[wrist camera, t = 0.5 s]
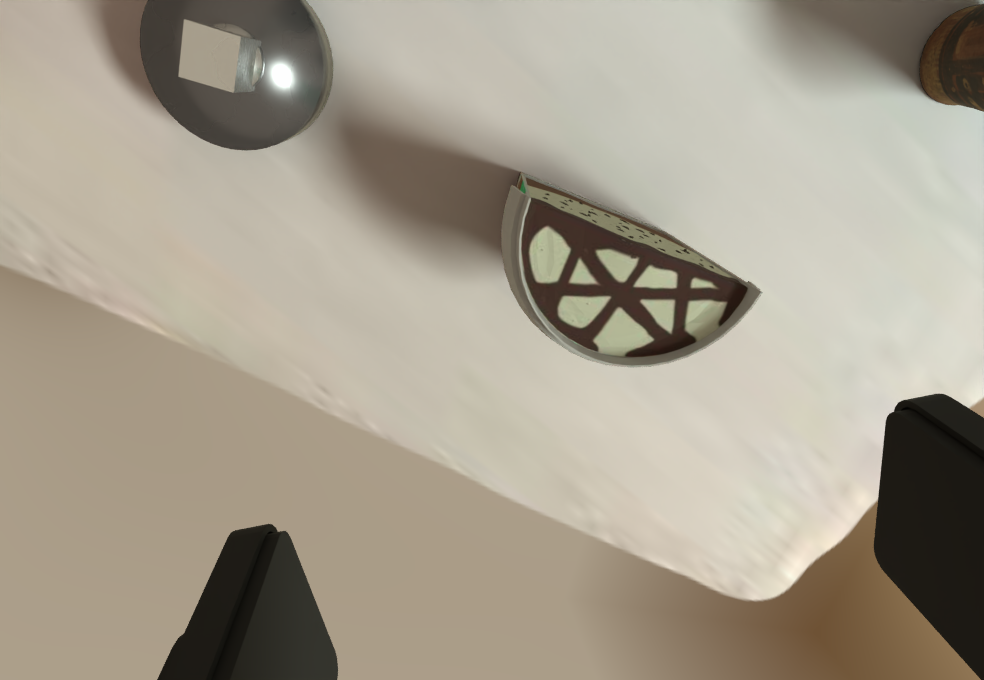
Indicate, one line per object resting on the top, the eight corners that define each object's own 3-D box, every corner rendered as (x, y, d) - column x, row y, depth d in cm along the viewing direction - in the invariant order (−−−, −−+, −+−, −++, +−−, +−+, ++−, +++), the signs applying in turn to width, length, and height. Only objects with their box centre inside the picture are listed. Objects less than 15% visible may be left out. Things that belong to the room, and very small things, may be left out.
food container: (455, 263, 36) (461, 327, 27) (495, 161, 34) (516, 192, 25) (640, 331, 38) (704, 411, 29) (688, 241, 36) (772, 296, 27)
